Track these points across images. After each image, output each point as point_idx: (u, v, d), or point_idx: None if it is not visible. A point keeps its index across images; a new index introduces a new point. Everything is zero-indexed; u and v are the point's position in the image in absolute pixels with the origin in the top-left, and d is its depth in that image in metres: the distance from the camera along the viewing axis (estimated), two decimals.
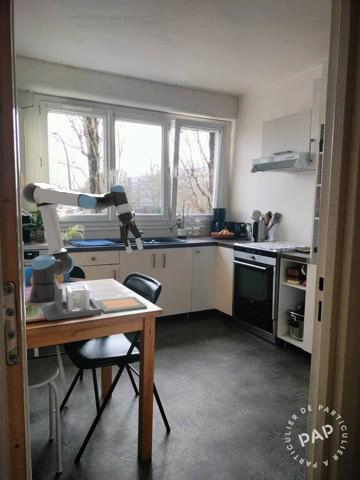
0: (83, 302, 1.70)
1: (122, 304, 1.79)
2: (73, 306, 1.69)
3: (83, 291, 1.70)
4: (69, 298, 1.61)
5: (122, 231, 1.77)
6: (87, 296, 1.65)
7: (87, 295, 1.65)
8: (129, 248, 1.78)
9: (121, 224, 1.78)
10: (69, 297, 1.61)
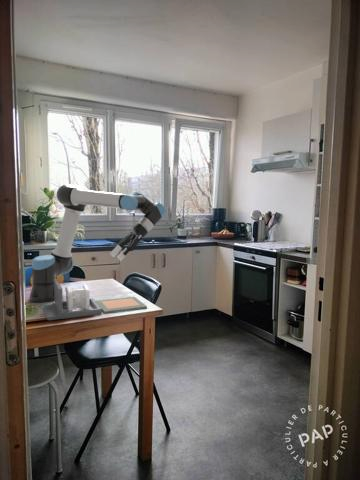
0: (83, 302, 1.70)
1: (122, 304, 1.79)
2: (73, 306, 1.69)
3: (83, 291, 1.70)
4: (69, 298, 1.61)
5: (136, 242, 1.70)
6: (87, 296, 1.65)
7: (87, 295, 1.65)
8: (123, 257, 1.69)
9: (139, 236, 1.72)
10: (69, 297, 1.61)
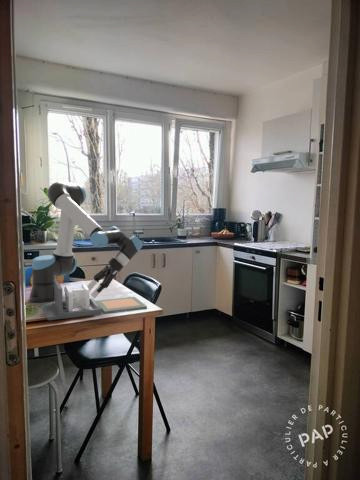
0: (82, 302, 1.70)
1: (122, 304, 1.79)
2: (73, 306, 1.68)
3: (83, 291, 1.70)
4: (69, 298, 1.61)
5: (110, 279, 1.67)
6: (87, 296, 1.66)
7: (87, 295, 1.65)
8: (96, 294, 1.66)
9: (114, 273, 1.69)
10: (69, 297, 1.61)
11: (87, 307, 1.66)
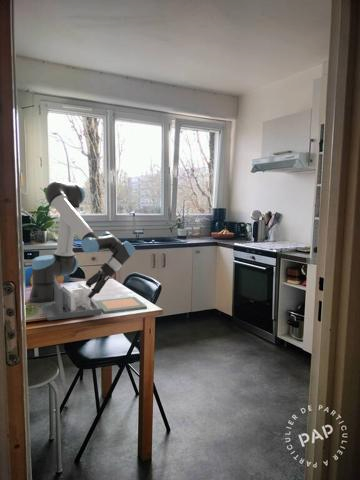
0: (82, 301, 1.71)
1: (122, 304, 1.79)
2: None
3: (82, 290, 1.71)
4: (71, 298, 1.62)
5: (101, 285, 1.66)
6: None
7: None
8: (88, 299, 1.65)
9: (106, 278, 1.68)
10: (71, 297, 1.62)
11: (88, 306, 1.68)
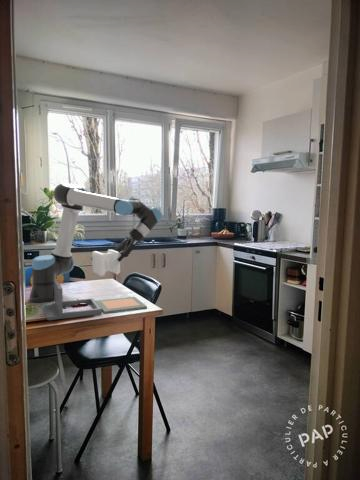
0: (112, 265, 1.74)
1: (122, 304, 1.79)
2: None
3: (111, 254, 1.73)
4: (102, 260, 1.65)
5: (130, 248, 1.70)
6: None
7: None
8: (117, 263, 1.69)
9: (135, 242, 1.72)
10: (102, 259, 1.65)
11: (118, 269, 1.70)
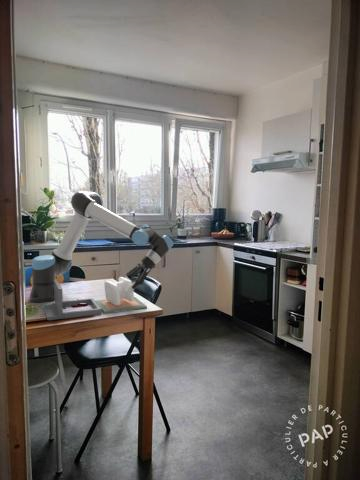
0: (125, 293, 1.80)
1: (122, 304, 1.79)
2: None
3: (124, 283, 1.80)
4: (117, 291, 1.71)
5: (144, 276, 1.76)
6: None
7: None
8: (131, 290, 1.75)
9: (148, 270, 1.78)
10: (117, 290, 1.71)
11: (132, 297, 1.77)
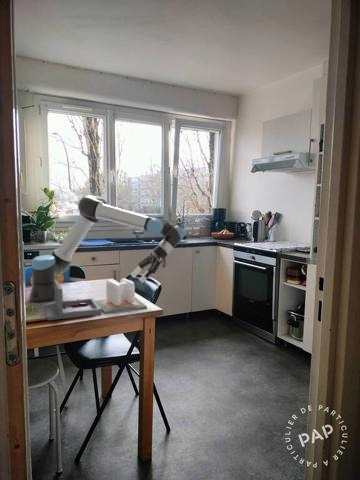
0: (126, 294, 1.81)
1: (122, 304, 1.79)
2: None
3: (126, 284, 1.81)
4: (119, 291, 1.72)
5: (157, 265, 1.77)
6: (133, 288, 1.77)
7: (133, 287, 1.77)
8: (144, 279, 1.76)
9: (160, 259, 1.80)
10: (119, 290, 1.72)
11: (133, 299, 1.78)
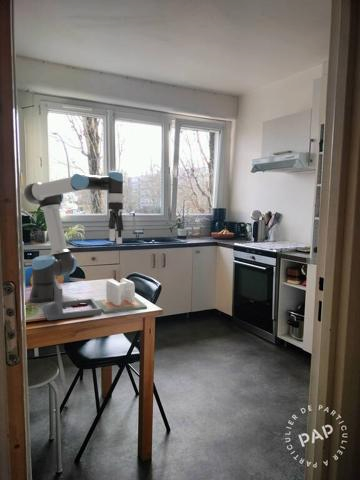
0: (126, 294, 1.81)
1: (122, 304, 1.79)
2: None
3: (126, 284, 1.81)
4: (119, 291, 1.72)
5: (120, 221, 1.73)
6: (133, 288, 1.77)
7: (133, 287, 1.77)
8: (120, 239, 1.76)
9: (119, 213, 1.74)
10: (119, 290, 1.72)
11: (133, 299, 1.78)
